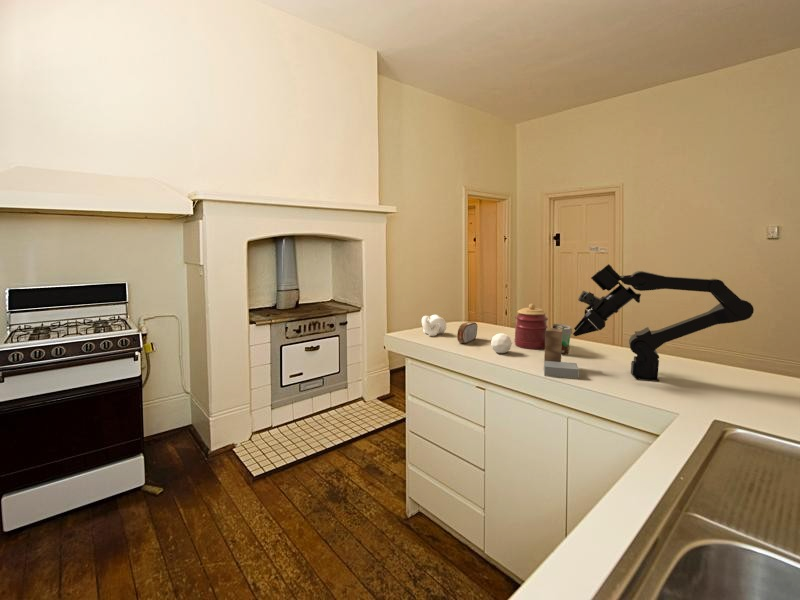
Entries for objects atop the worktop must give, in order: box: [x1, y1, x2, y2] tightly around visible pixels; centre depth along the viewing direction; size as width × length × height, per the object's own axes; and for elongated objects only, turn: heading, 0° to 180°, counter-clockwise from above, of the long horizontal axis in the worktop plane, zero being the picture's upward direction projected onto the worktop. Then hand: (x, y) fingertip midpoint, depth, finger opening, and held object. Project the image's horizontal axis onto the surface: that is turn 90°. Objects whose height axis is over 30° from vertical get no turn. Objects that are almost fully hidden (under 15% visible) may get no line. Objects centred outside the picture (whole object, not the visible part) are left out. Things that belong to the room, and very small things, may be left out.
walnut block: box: [543, 327, 563, 362], centre depth 138 cm, size 5×5×13 cm
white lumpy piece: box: [421, 314, 448, 337], centre depth 190 cm, size 11×12×9 cm
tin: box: [456, 321, 478, 344], centre depth 176 cm, size 15×3×8 cm, turn 144°
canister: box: [514, 303, 549, 350], centre depth 167 cm, size 13×13×18 cm
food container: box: [552, 323, 573, 356], centre depth 158 cm, size 12×6×10 cm, turn 168°
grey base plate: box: [543, 361, 580, 380], centre depth 131 cm, size 10×7×3 cm
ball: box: [490, 333, 513, 354], centre depth 157 cm, size 8×8×8 cm
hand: (574, 332), depth 135 cm, fingers open, 9 cm apart
